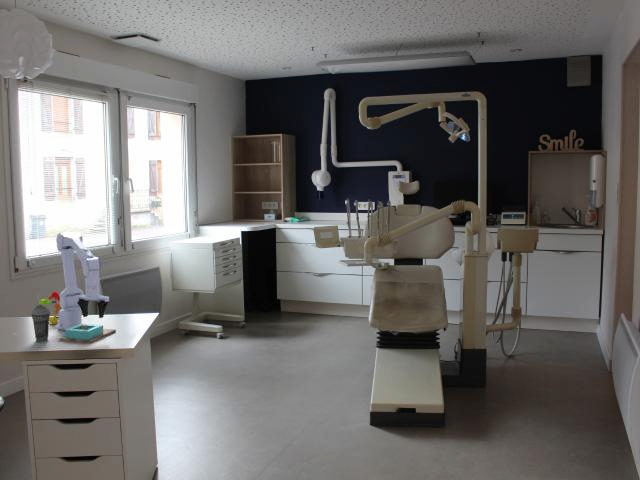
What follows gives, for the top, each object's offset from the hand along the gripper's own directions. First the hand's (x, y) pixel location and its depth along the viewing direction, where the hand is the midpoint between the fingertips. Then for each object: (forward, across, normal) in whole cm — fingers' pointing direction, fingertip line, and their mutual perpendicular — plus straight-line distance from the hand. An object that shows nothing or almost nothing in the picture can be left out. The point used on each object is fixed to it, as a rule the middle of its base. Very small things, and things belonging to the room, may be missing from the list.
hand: (93, 317), depth 273 cm
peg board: (+9, -4, +2) cm, 10 cm away
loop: (+8, -4, -1) cm, 9 cm away
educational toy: (+10, -35, +23) cm, 43 cm away
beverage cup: (+10, -19, -9) cm, 23 cm away
